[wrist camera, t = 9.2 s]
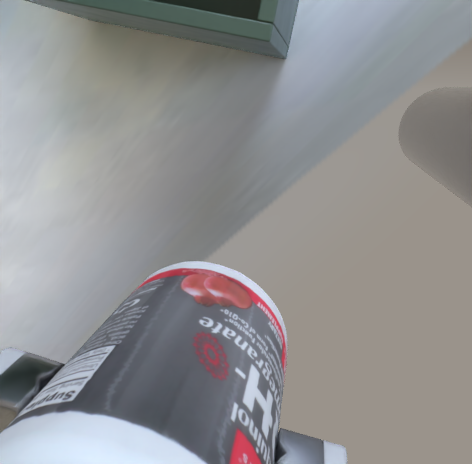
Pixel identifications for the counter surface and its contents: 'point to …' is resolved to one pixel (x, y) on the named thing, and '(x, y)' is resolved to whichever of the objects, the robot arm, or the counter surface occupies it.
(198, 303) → the pill bottle
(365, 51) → the counter surface
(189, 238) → the counter surface
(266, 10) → the chest
